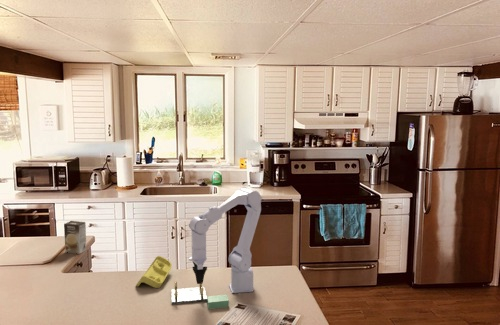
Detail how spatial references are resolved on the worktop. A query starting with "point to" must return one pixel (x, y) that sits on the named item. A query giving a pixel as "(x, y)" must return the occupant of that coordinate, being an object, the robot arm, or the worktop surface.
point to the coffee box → (75, 237)
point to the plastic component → (156, 272)
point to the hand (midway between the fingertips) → (199, 279)
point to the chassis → (188, 295)
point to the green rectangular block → (217, 301)
